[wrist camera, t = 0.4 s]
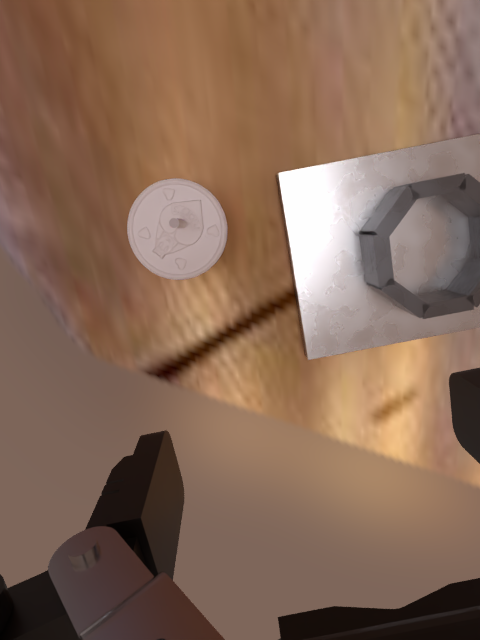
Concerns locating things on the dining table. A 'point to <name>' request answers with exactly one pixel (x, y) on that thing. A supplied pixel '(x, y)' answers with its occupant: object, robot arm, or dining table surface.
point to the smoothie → (177, 229)
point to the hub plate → (385, 246)
